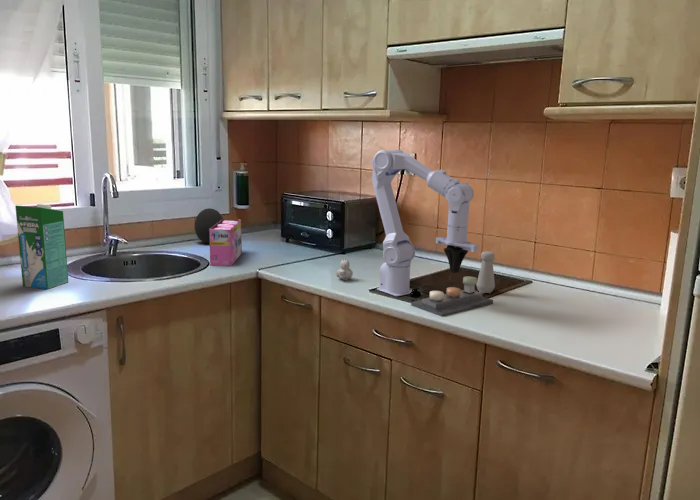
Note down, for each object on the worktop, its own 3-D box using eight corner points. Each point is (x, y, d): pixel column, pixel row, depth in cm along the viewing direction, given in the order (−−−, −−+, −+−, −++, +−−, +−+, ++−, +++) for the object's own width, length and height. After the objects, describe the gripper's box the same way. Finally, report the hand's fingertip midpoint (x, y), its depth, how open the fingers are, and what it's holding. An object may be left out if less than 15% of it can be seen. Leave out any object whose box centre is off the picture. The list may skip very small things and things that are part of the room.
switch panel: (411, 305, 170) (411, 296, 169) (462, 293, 183) (462, 285, 182) (441, 316, 160) (442, 307, 160) (492, 303, 174) (493, 294, 173)
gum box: (223, 251, 234) (222, 218, 231) (243, 252, 234) (242, 218, 231) (209, 265, 211) (208, 228, 208) (231, 266, 211) (231, 229, 208)
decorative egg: (206, 239, 258) (205, 205, 254) (230, 242, 253) (229, 207, 250) (188, 244, 246) (187, 209, 243) (213, 247, 242) (212, 211, 239)
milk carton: (68, 282, 184) (62, 203, 179) (47, 289, 176) (40, 207, 171) (45, 279, 187) (38, 201, 181) (22, 286, 178) (14, 205, 173)
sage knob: (459, 291, 176) (460, 277, 175) (468, 289, 178) (469, 275, 177) (469, 294, 173) (470, 280, 172) (478, 292, 175) (479, 278, 174)
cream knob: (426, 306, 168) (426, 292, 167) (435, 303, 170) (436, 289, 169) (436, 309, 165) (437, 295, 164) (445, 307, 167) (446, 293, 166)
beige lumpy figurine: (354, 278, 199) (355, 255, 197) (349, 283, 192) (350, 259, 191) (339, 276, 200) (339, 254, 198) (333, 281, 194) (334, 258, 192)
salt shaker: (481, 288, 190) (484, 249, 187) (497, 291, 186) (500, 252, 184) (472, 292, 185) (475, 251, 183) (489, 295, 182) (492, 254, 179)
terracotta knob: (442, 302, 172) (443, 288, 171) (452, 300, 174) (453, 286, 174) (453, 305, 169) (454, 291, 168) (462, 303, 171) (463, 289, 170)
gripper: (429, 223, 170) (426, 268, 173) (467, 231, 159) (464, 279, 162) (446, 221, 174) (443, 265, 177) (484, 228, 163) (481, 276, 166)
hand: (454, 272), depth 170 cm, fingers closed
